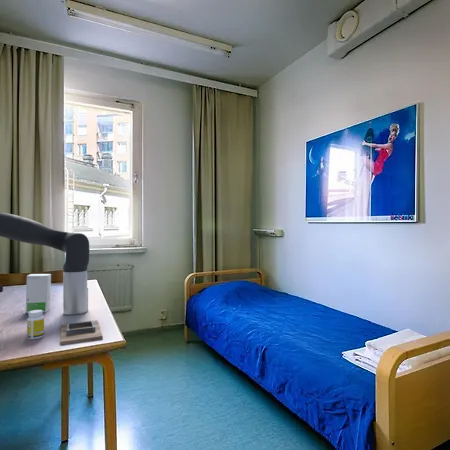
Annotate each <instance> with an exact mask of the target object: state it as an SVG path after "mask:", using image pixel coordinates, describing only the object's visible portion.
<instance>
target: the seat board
mask: <svg viewBox="0 0 450 450" xmlns="http://www.w3.org/2000/svg"><path fill="white" fill-rule="evenodd" d="M98 321H99V320H97V319H96V320H87V321H79V322H77V321H76V322H70V323H63V324H60V325H61V326H60V342H59V344H60V345H59V346H63V345H71V344H76V343H78V344H79V343H83V342H84V343H85V342H90V341H92V342H93V341H98V340H103V333H102V331H101V327H100V325H99V322H98Z"/></svg>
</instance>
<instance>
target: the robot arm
mask: <svg viewBox="0 0 450 450" xmlns="http://www.w3.org/2000/svg"><path fill="white" fill-rule="evenodd" d="M0 237H2V238H6V239H8V240H12V241H16V242H20V243H26V244H31V245H37V246H45V247H49V248H53V249H55V250H58V251H61V252H64V253H65V262H64V264H63V266H62V270H63V271H62V274H63V276H62V278H63V279H62V287H63V288H62V290H63V292H62V296H63V297H62V301H63V302H62V304H63V305H62V308H63V309H62V310H63V311H62V313H63V315H67V316H69V315H70V316H71V315H72V316H73V315H82V314H85V313H88V310H89V288H88V266H89V263H90V241H89V239H88V237H87V235H85V234H84V233H82V232H70V231H63V230H58V229H54V228H51V227H50V226H47V225H45V224H43V223H40V222H39V221H36V220H33V219H30V218H28V217H24V216H20V215H17V214H13V213H12V214H11V213H9V212H8V213H7V212H0ZM2 292H4V286H3V284H1V285H0V293H2Z"/></svg>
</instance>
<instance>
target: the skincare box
mask: <svg viewBox="0 0 450 450" xmlns="http://www.w3.org/2000/svg"><path fill="white" fill-rule="evenodd" d="M51 283H52V273H30V274H27V276H26V288H25V289H26V290H25V292H26V293H25V295H26V296H25V314H28V313H29V311H33V310H42V311H43V313H48V312H49V311H50V309H51V291H52V290H51V289H52V288H51V286H52V284H51Z"/></svg>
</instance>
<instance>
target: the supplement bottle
mask: <svg viewBox="0 0 450 450" xmlns="http://www.w3.org/2000/svg"><path fill="white" fill-rule="evenodd" d="M27 314H28V318H27V319H26V332H27V334H26V335H27V336H26V337H27V340H36V339H37V340H38V339H41V338H43V337H45V317H44V315H43V314H44V312H43V311H42V310H33V311H29V313H27Z"/></svg>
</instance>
